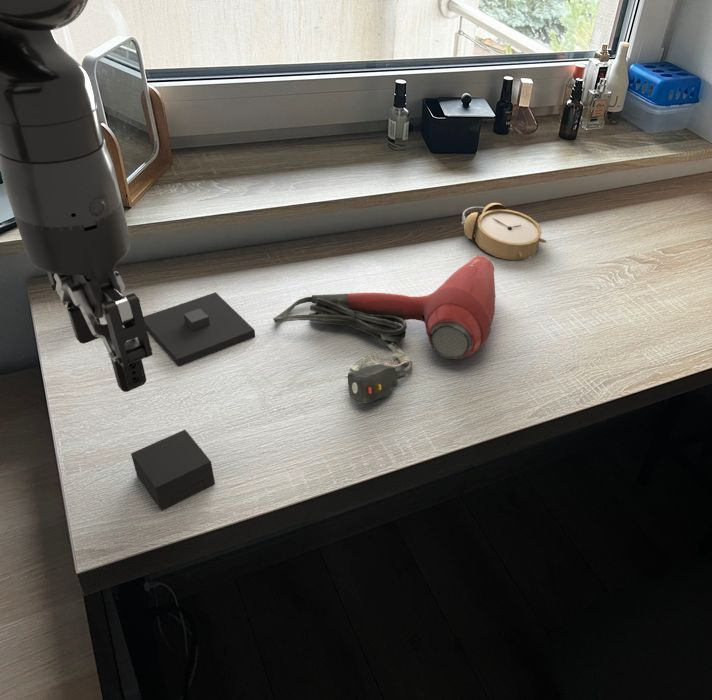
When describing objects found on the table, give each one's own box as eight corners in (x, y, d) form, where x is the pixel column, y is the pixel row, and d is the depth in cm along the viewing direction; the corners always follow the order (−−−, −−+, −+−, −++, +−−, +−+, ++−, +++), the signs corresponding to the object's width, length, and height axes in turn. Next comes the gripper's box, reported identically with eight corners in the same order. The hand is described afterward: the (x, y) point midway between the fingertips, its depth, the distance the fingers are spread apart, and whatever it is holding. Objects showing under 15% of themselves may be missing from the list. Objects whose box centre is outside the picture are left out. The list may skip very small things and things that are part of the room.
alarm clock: (518, 253, 118) (450, 206, 123) (509, 276, 121) (444, 229, 126) (555, 231, 125) (490, 187, 130) (546, 253, 128) (483, 209, 133)
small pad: (161, 510, 75) (155, 488, 73) (136, 476, 78) (130, 453, 76) (215, 484, 79) (211, 461, 76) (189, 451, 82) (185, 429, 80)
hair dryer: (448, 258, 120) (452, 209, 115) (550, 337, 105) (561, 286, 100) (262, 316, 103) (257, 262, 97) (354, 421, 88) (354, 365, 83)
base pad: (178, 366, 93) (175, 350, 91) (141, 324, 99) (138, 309, 97) (255, 336, 99) (253, 321, 97) (216, 298, 105) (214, 283, 103)
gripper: (-21, 177, 57) (36, 339, 67) (54, 254, 49) (105, 423, 60) (77, 155, 61) (116, 310, 71) (159, 223, 54) (189, 385, 64)
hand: (111, 361), depth 65 cm, fingers open, 8 cm apart
